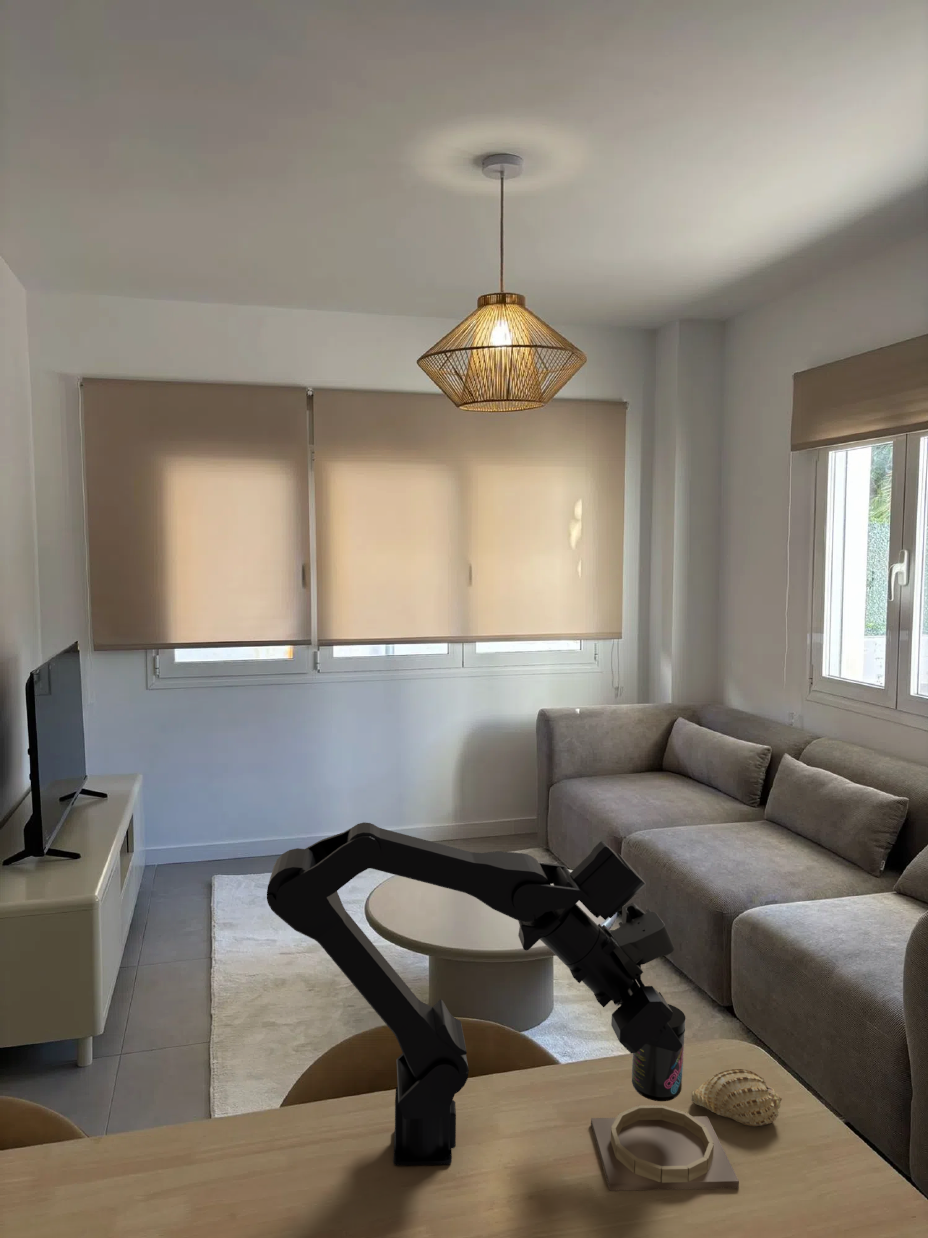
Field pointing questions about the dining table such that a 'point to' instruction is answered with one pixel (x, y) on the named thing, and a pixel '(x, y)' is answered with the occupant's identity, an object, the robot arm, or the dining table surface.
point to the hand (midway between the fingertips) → (670, 1033)
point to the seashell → (739, 1097)
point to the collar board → (661, 1151)
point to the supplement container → (660, 1065)
